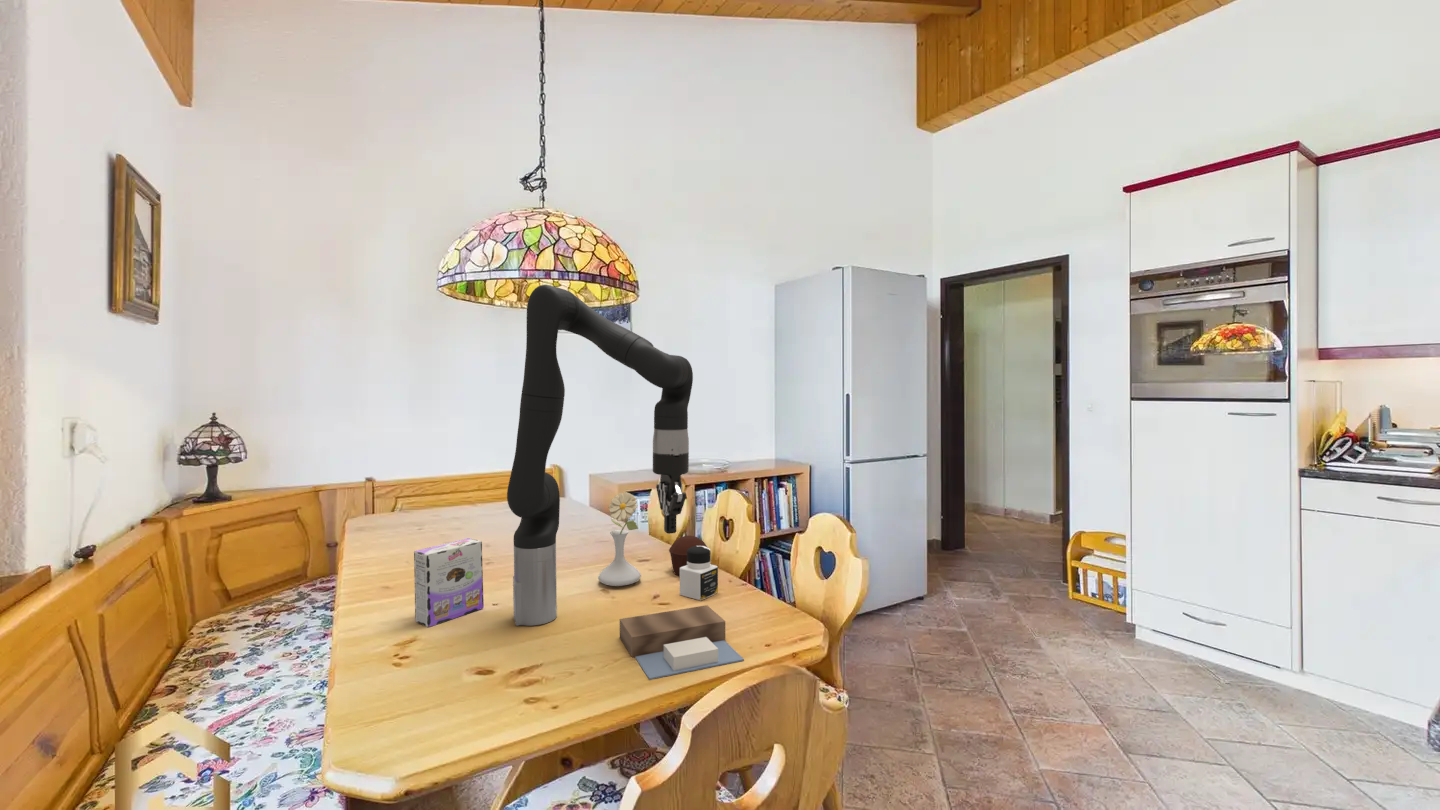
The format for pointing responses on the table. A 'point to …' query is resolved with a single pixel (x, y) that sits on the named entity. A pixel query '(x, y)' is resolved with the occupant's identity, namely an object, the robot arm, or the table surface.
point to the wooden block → (670, 629)
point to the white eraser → (690, 653)
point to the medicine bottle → (698, 574)
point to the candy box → (448, 581)
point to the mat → (659, 668)
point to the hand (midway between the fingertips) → (670, 532)
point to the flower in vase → (621, 543)
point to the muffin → (682, 551)
